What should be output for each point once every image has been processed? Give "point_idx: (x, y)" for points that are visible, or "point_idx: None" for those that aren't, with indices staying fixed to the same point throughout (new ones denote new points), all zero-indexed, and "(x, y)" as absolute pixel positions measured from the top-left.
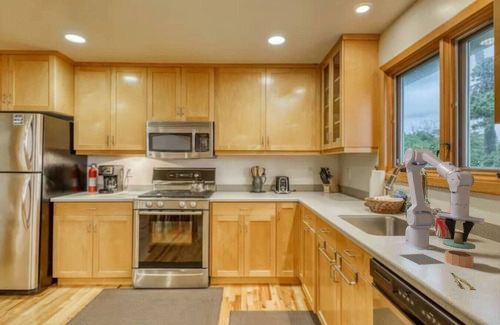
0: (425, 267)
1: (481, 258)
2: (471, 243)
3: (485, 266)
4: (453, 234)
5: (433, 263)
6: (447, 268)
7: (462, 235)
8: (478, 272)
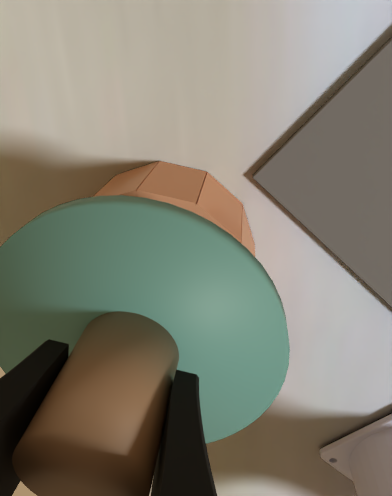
0: None
1: None
2: None
3: None
4: (162, 443)
5: (344, 95)
6: (231, 62)
7: (37, 411)
8: (38, 130)
